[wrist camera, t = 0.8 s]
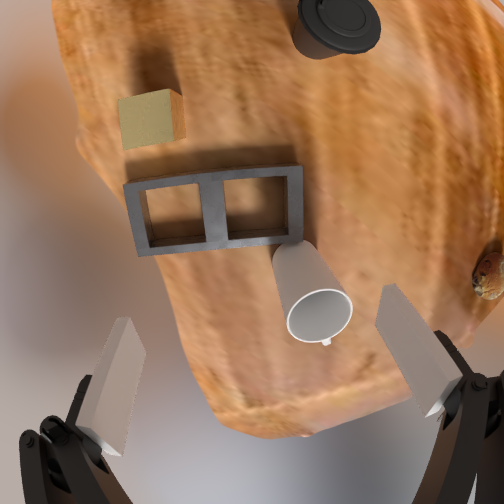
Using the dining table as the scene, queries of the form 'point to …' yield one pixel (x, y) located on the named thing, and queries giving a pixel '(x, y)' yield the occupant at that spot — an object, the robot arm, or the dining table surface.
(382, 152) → the dining table surface
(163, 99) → the pale yellow block
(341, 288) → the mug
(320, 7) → the coffee cup
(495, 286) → the bread roll
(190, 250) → the grey flat frame
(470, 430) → the robot arm
